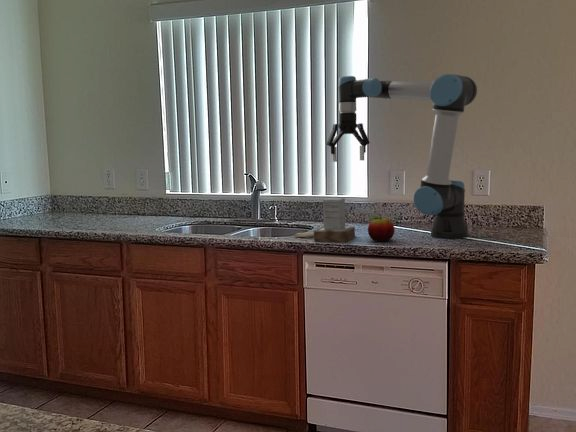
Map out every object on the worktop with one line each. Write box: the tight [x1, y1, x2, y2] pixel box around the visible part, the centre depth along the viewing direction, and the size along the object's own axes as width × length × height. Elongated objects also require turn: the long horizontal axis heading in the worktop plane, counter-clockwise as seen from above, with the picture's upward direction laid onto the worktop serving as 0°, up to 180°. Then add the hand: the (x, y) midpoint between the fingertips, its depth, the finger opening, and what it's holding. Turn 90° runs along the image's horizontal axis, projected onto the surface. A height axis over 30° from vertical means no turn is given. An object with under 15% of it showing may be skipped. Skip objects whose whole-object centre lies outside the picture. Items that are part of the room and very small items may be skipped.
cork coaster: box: [294, 231, 314, 238], centre depth 241 cm, size 10×10×1 cm
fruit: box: [367, 215, 395, 243], centre depth 224 cm, size 11×11×10 cm
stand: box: [313, 225, 356, 243], centre depth 232 cm, size 14×14×4 cm
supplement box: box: [322, 197, 346, 230], centre depth 231 cm, size 7×7×13 cm
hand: (348, 161), depth 245 cm, fingers open, 13 cm apart
